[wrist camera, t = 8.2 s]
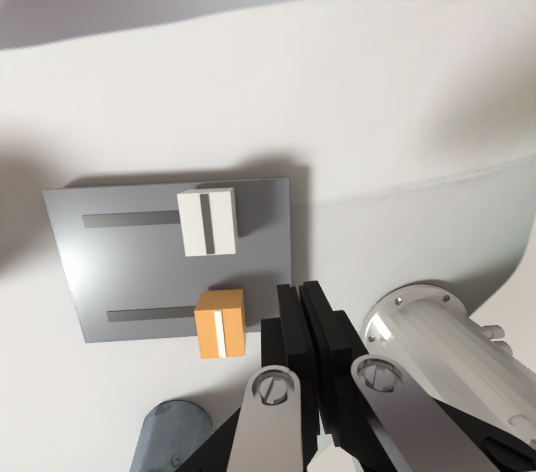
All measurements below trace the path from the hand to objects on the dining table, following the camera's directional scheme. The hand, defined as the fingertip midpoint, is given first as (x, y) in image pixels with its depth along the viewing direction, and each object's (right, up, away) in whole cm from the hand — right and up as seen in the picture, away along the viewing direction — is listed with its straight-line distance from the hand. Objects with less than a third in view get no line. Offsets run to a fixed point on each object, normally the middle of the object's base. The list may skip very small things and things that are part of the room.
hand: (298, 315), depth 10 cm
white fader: (-6, +5, +13) cm, 15 cm away
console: (-10, +1, +17) cm, 20 cm away
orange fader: (-6, -5, +16) cm, 17 cm away
